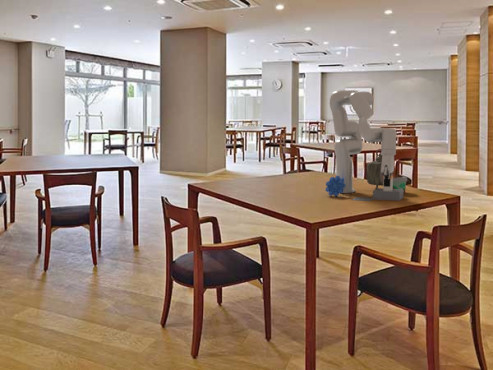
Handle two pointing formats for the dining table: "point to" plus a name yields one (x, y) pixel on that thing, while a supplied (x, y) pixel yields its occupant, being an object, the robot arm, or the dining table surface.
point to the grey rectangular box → (388, 194)
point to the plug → (390, 185)
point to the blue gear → (335, 186)
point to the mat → (362, 199)
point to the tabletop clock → (375, 172)
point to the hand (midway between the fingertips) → (388, 185)
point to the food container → (400, 183)
